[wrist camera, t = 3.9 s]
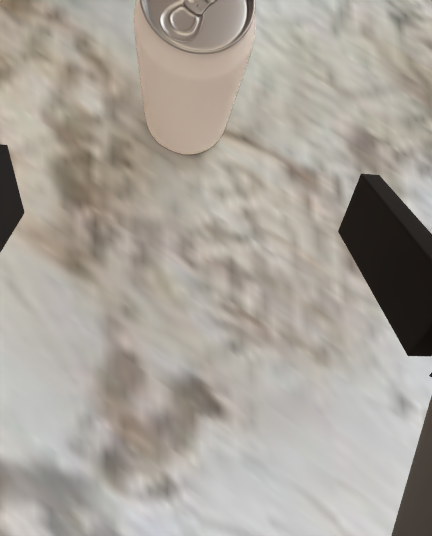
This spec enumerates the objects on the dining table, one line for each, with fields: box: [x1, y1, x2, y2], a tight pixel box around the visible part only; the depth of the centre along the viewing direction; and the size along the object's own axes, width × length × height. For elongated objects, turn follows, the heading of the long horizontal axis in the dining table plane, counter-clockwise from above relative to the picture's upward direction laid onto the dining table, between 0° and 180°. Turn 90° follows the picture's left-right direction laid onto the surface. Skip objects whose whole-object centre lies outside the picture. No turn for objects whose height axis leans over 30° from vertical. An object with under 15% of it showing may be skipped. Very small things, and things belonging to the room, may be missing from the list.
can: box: [134, 0, 256, 154], centre depth 24 cm, size 6×6×12 cm
